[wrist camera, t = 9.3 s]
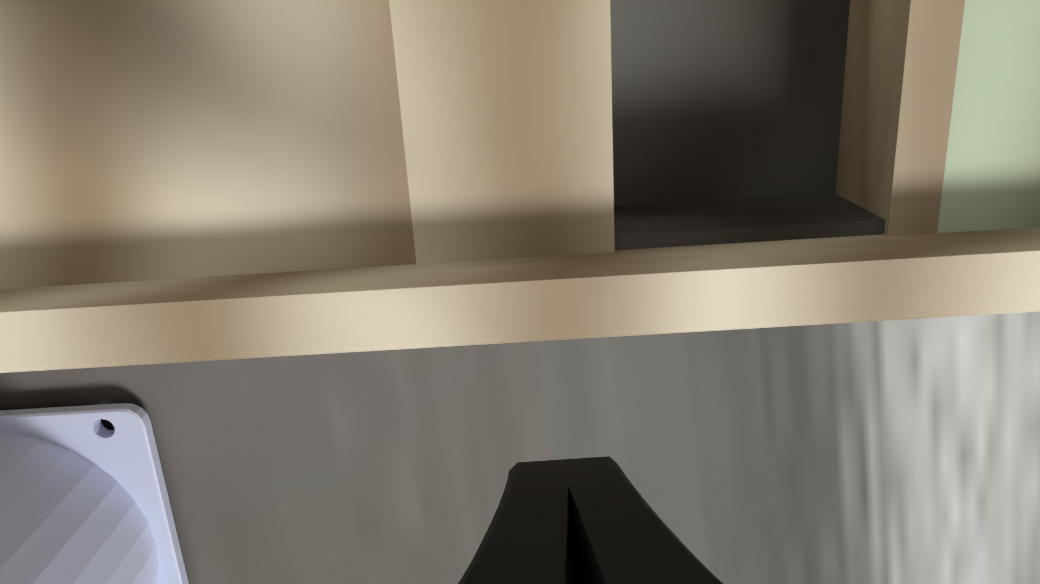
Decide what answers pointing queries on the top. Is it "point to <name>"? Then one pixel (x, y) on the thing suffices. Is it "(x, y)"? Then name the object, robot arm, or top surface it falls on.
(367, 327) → the wooden tray
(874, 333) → the top surface
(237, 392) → the top surface
